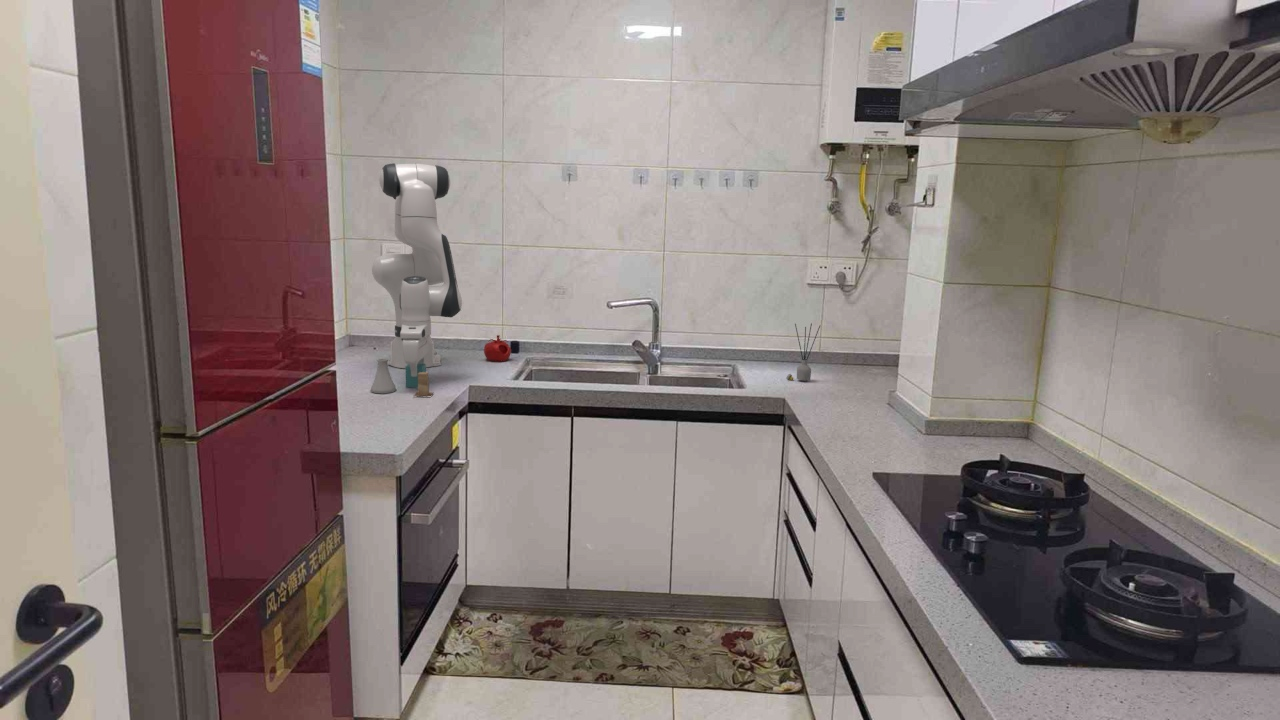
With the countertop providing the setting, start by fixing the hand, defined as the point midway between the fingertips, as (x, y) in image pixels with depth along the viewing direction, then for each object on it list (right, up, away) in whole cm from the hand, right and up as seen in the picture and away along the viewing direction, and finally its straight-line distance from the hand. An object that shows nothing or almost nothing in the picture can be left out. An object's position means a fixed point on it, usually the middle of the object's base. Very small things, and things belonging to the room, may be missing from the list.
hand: (417, 373), depth 260 cm
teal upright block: (-1, -4, +1) cm, 4 cm away
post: (+5, -6, -11) cm, 14 cm away
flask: (-8, -6, -7) cm, 12 cm away
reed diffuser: (+124, -3, +22) cm, 126 cm away
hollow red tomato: (+17, +4, +46) cm, 50 cm away
